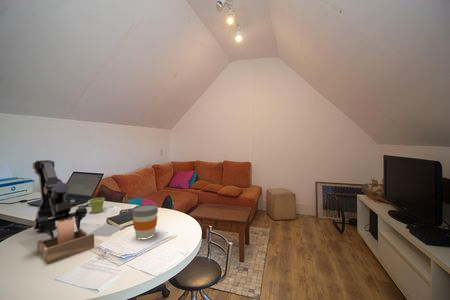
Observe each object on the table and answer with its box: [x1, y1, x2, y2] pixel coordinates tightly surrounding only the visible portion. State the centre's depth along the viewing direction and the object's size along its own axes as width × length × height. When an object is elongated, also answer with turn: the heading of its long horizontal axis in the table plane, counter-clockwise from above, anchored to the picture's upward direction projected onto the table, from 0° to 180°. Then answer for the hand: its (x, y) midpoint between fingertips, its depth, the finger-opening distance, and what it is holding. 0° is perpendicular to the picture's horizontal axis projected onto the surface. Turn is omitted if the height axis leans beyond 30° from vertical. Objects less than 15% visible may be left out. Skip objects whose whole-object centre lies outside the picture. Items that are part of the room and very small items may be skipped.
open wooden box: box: [36, 228, 95, 265], centre depth 89 cm, size 18×16×7 cm
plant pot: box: [88, 197, 106, 214], centre depth 138 cm, size 9×9×9 cm
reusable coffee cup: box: [131, 203, 159, 239], centre depth 103 cm, size 13×13×15 cm
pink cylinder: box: [56, 217, 75, 245], centre depth 88 cm, size 6×6×13 cm
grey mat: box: [88, 224, 126, 238], centre depth 107 cm, size 13×13×1 cm
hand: (66, 233), depth 88 cm, fingers open, 9 cm apart
